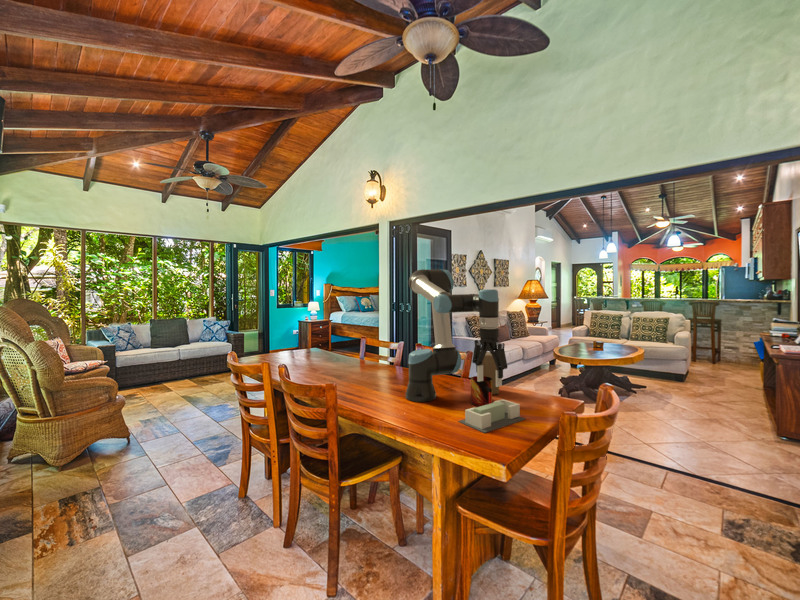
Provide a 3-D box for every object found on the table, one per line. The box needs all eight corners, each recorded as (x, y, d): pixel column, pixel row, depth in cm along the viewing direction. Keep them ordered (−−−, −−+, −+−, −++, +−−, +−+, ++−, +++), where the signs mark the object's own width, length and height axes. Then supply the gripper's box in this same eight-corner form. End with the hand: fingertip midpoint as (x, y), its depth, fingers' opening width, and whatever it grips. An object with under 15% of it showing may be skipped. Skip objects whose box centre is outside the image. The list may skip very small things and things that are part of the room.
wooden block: (477, 388, 191) (477, 351, 190) (496, 389, 190) (496, 351, 189) (479, 394, 181) (478, 355, 181) (499, 394, 180) (499, 355, 179)
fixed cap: (465, 422, 143) (465, 409, 142) (474, 419, 145) (474, 407, 145) (481, 429, 135) (481, 416, 135) (491, 426, 138) (491, 413, 138)
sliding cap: (493, 413, 152) (493, 401, 152) (503, 410, 155) (503, 398, 155) (510, 419, 145) (510, 407, 144) (520, 415, 148) (520, 404, 148)
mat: (458, 421, 144) (458, 420, 144) (498, 410, 157) (498, 409, 157) (484, 433, 132) (484, 432, 132) (525, 419, 146) (525, 418, 146)
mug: (490, 411, 156) (490, 384, 155) (466, 403, 167) (466, 378, 166) (504, 406, 162) (503, 380, 161) (479, 399, 173) (479, 375, 172)
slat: (474, 423, 141) (473, 408, 141) (497, 415, 149) (497, 401, 149) (480, 425, 138) (480, 410, 138) (504, 418, 146) (504, 403, 146)
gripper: (462, 326, 150) (463, 379, 151) (504, 330, 132) (504, 391, 132) (475, 325, 154) (476, 376, 155) (517, 329, 136) (517, 388, 137)
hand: (489, 383), depth 144 cm, fingers open, 9 cm apart
